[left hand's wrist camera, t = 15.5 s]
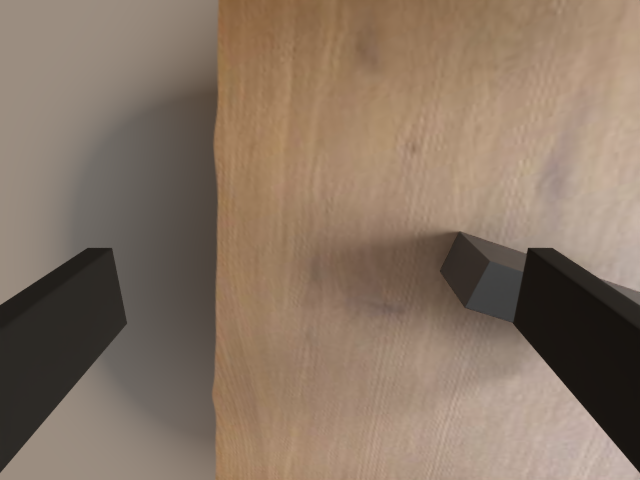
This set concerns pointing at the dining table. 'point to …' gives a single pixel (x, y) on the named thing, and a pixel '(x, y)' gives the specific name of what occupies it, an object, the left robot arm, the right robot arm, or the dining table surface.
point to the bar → (492, 276)
